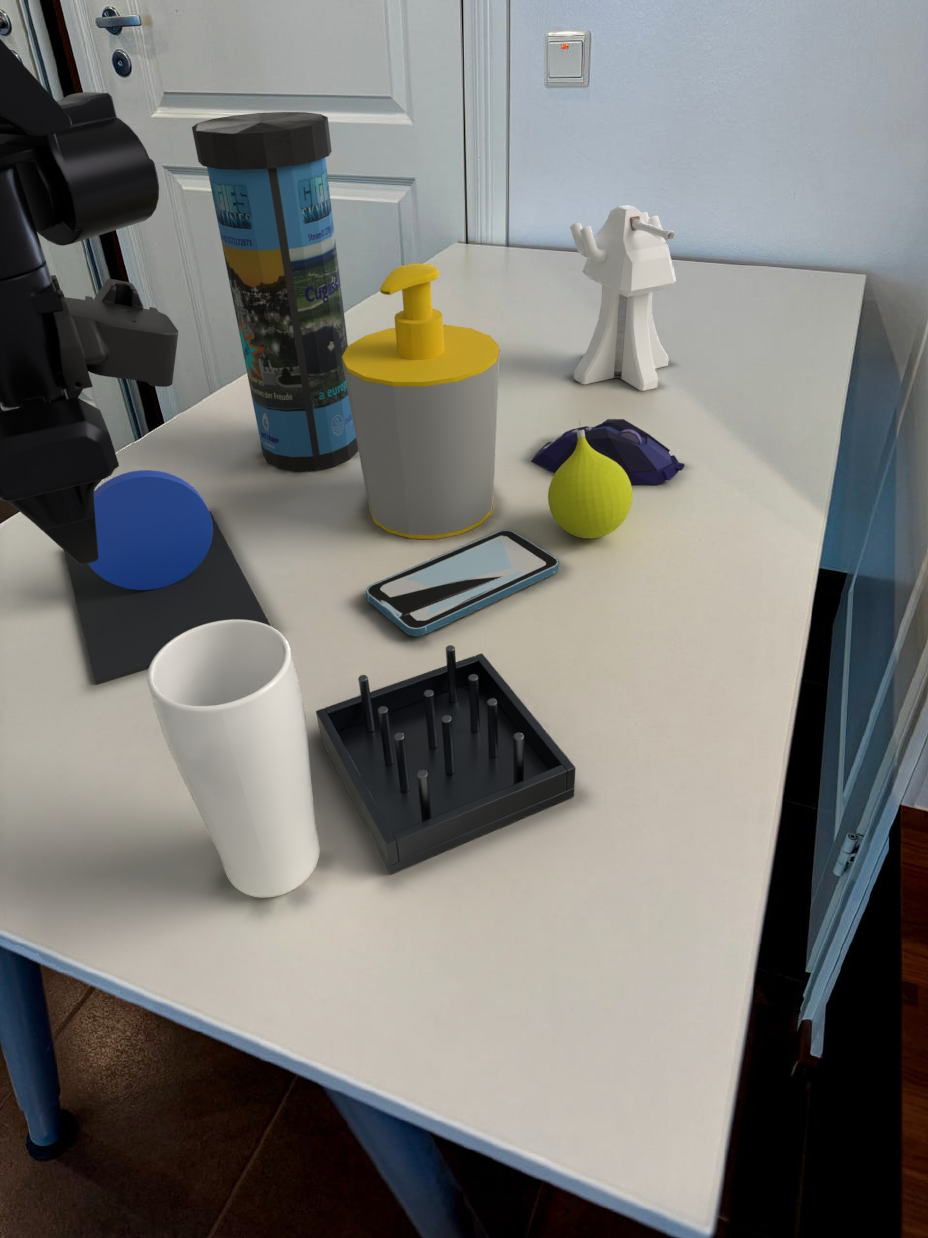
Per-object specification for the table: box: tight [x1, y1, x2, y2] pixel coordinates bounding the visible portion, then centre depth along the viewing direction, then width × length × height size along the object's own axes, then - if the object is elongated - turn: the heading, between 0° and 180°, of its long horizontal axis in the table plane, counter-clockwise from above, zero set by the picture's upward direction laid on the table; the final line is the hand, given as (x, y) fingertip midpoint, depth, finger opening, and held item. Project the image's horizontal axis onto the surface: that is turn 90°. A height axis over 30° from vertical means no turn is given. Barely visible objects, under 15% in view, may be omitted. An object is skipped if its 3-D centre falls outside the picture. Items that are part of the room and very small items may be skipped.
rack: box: [315, 644, 576, 875], centre depth 54 cm, size 12×12×5 cm
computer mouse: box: [531, 418, 686, 486], centre depth 86 cm, size 9×15×4 cm, turn 64°
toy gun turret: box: [570, 204, 677, 392], centre depth 99 cm, size 12×13×18 cm
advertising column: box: [191, 111, 359, 473], centre depth 82 cm, size 11×11×30 cm
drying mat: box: [63, 510, 272, 685], centre depth 72 cm, size 13×20×1 cm, turn 26°
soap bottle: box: [342, 263, 501, 540], centre depth 75 cm, size 13×13×21 cm
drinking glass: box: [146, 619, 321, 899], centre depth 45 cm, size 7×7×15 cm
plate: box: [88, 469, 213, 590], centre depth 69 cm, size 1×10×10 cm, turn 116°
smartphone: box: [365, 529, 560, 637], centre depth 70 cm, size 7×1×15 cm
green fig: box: [547, 421, 634, 539], centre depth 74 cm, size 7×7×10 cm
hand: (79, 526), depth 55 cm, fingers open, 9 cm apart
